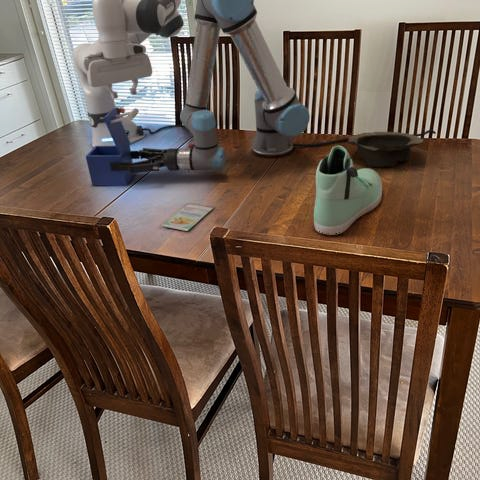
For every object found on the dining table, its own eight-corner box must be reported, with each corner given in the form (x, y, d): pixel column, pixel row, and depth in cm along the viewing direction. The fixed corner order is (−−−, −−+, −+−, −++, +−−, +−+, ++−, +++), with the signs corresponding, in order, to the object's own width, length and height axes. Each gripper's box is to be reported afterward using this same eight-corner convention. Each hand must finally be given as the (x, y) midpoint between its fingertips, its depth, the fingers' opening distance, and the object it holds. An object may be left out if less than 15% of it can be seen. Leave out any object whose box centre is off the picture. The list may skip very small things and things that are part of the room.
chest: (92, 185, 165) (85, 156, 160) (101, 173, 173) (95, 145, 168) (126, 185, 164) (121, 156, 158) (134, 173, 172) (129, 145, 166)
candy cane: (169, 157, 184) (168, 153, 183) (194, 144, 194) (193, 140, 193) (180, 159, 181) (180, 155, 180) (205, 146, 191) (205, 142, 190)
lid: (103, 117, 152) (128, 110, 150) (112, 108, 160) (137, 101, 157) (119, 155, 158) (144, 148, 156) (128, 144, 166) (151, 138, 164)
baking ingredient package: (160, 225, 137) (188, 203, 148) (161, 226, 137) (188, 204, 148) (187, 230, 133) (213, 207, 145) (187, 231, 133) (213, 208, 145)
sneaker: (389, 187, 148) (396, 123, 138) (356, 242, 123) (361, 168, 112) (346, 181, 154) (350, 119, 144) (306, 232, 129) (307, 161, 118)
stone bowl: (380, 178, 154) (381, 150, 149) (333, 160, 174) (332, 135, 170) (437, 159, 162) (439, 132, 158) (385, 144, 183) (386, 120, 178)
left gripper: (85, 57, 138) (96, 104, 145) (150, 45, 147) (157, 91, 154) (78, 54, 143) (89, 100, 150) (142, 43, 152) (149, 88, 159)
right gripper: (173, 183, 154) (107, 184, 157) (187, 157, 173) (128, 158, 176) (169, 161, 150) (102, 163, 153) (185, 137, 169) (124, 139, 172)
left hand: (124, 96), depth 152 cm, fingers open, 5 cm apart
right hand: (116, 160), depth 165 cm, fingers closed on chest, 9 cm apart
